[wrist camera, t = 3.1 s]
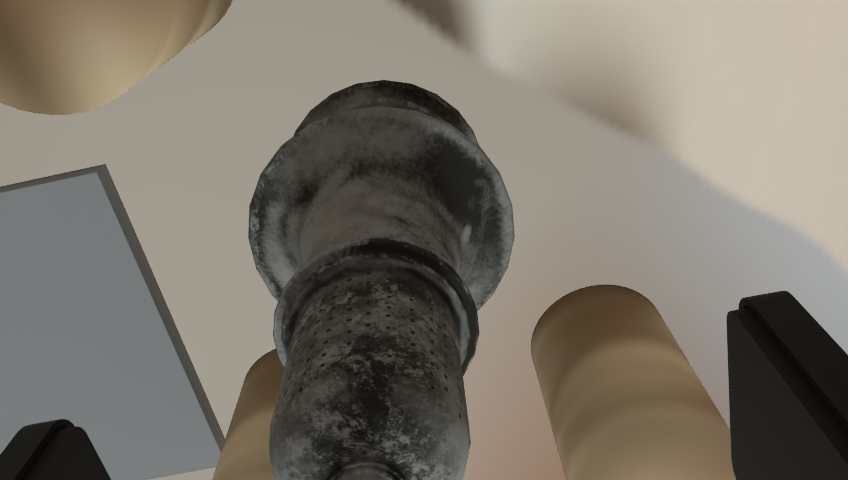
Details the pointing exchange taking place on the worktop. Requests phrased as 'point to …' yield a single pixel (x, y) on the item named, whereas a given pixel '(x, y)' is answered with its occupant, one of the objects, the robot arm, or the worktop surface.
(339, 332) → the salt shaker
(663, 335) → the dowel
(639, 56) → the worktop surface
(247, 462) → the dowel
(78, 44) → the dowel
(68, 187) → the coaster
